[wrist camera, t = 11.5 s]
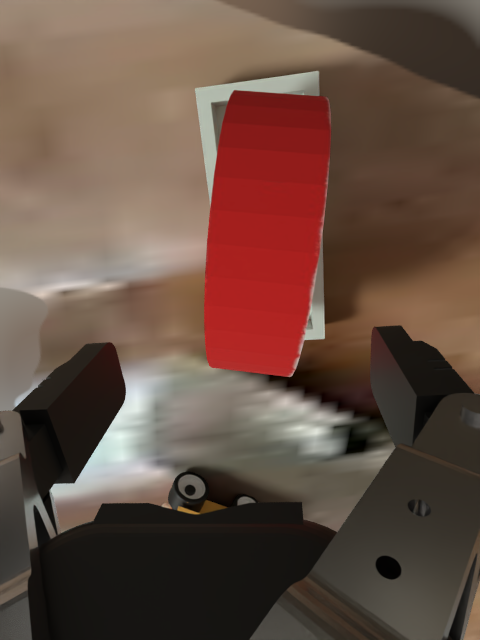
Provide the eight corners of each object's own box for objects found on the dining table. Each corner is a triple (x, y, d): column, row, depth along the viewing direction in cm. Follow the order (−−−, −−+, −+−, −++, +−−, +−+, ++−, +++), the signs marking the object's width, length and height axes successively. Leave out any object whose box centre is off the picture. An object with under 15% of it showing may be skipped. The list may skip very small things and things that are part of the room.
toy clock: (247, 109, 34) (214, 52, 16) (311, 114, 34) (352, 62, 16) (231, 310, 42) (198, 425, 24) (283, 316, 42) (289, 436, 24)
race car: (231, 558, 61) (222, 634, 51) (143, 528, 60) (117, 599, 50) (266, 497, 55) (264, 570, 45) (170, 463, 54) (146, 529, 44)
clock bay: (231, 330, 45) (228, 344, 41) (202, 94, 35) (195, 88, 32) (321, 325, 43) (324, 338, 40) (314, 79, 34) (318, 70, 31)
